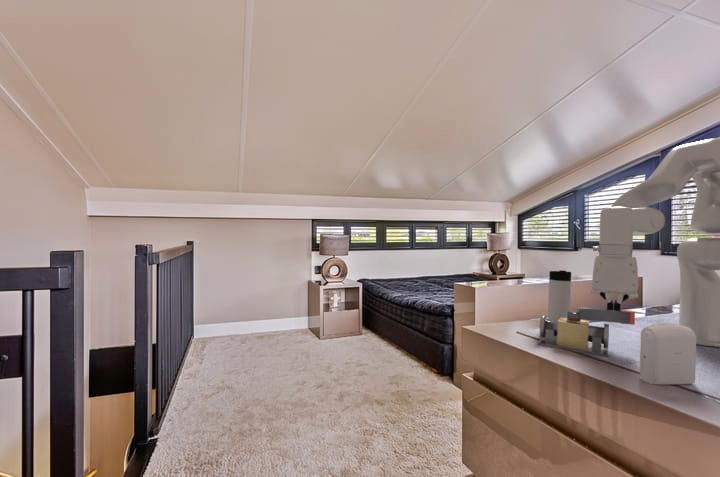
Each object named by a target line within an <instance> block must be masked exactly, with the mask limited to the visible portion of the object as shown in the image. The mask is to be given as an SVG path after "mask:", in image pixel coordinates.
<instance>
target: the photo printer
mask: <svg viewBox="0 0 720 477" xmlns="http://www.w3.org/2000/svg"><path fill="white" fill-rule="evenodd" d="M639 348H640V356H639V357H640V358H639V376H640V378H641V380H642V381H643V382H646V384H647V383H648V384H651V385H691V384H695V382H696V366H697V365H696V364H697V361H696V360H697V354H696V353H697V344H696V335H695V333H694V332H693V330H692V329H690V328H688V327H685V326H682V325H679V323H672V322H658V323H654V324H651V325H647V326H645V327H643V328H642V329H641V332H640V347H639Z"/></svg>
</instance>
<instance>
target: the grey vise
mask: <svg viewBox="0 0 720 477" xmlns="http://www.w3.org/2000/svg"><path fill="white" fill-rule="evenodd" d="M609 334H610V325H609V323H604V324H603V327H602V326H597V325H590V320H580V321H570V320H567V318H564V317H560V319H559V320H558V321H556V320H549V319H548V317H547V315H545V314H541V316H540V321H539V337H540V339H539V341H537V342H538V343H537V344H538V346H539V345H540V346H545V347H550V348H556V349H561V350H567V351H572V352H577V353H578V352H579V353H583V354H589V355H594V356H600V357H606V358H608V357H609V341H610V340H609V337H610V335H609Z"/></svg>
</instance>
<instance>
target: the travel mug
mask: <svg viewBox="0 0 720 477" xmlns="http://www.w3.org/2000/svg"><path fill="white" fill-rule="evenodd" d="M548 275H549V279H548V297H547V300H548V301H547V303H548V304H547V319H549V320H556V321H558V320H559V319H560V317H564V318H567V312H571V299H572V272H571V271H567V270H561V269H560V270H549V274H548Z"/></svg>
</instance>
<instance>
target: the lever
mask: <svg viewBox="0 0 720 477" xmlns="http://www.w3.org/2000/svg"><path fill="white" fill-rule="evenodd" d="M635 318H636V311H633V310H631V309H620V310H614V309H613V310H608V309H607V308H605V309H604V308H596V307H595V308H593V307H576V311H570V312H567V320H570V321H580V320H586V321H595V322H606V323H608V322H609V323H619V324H622V325H635V324H636V323H635V321H636V319H635Z"/></svg>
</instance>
